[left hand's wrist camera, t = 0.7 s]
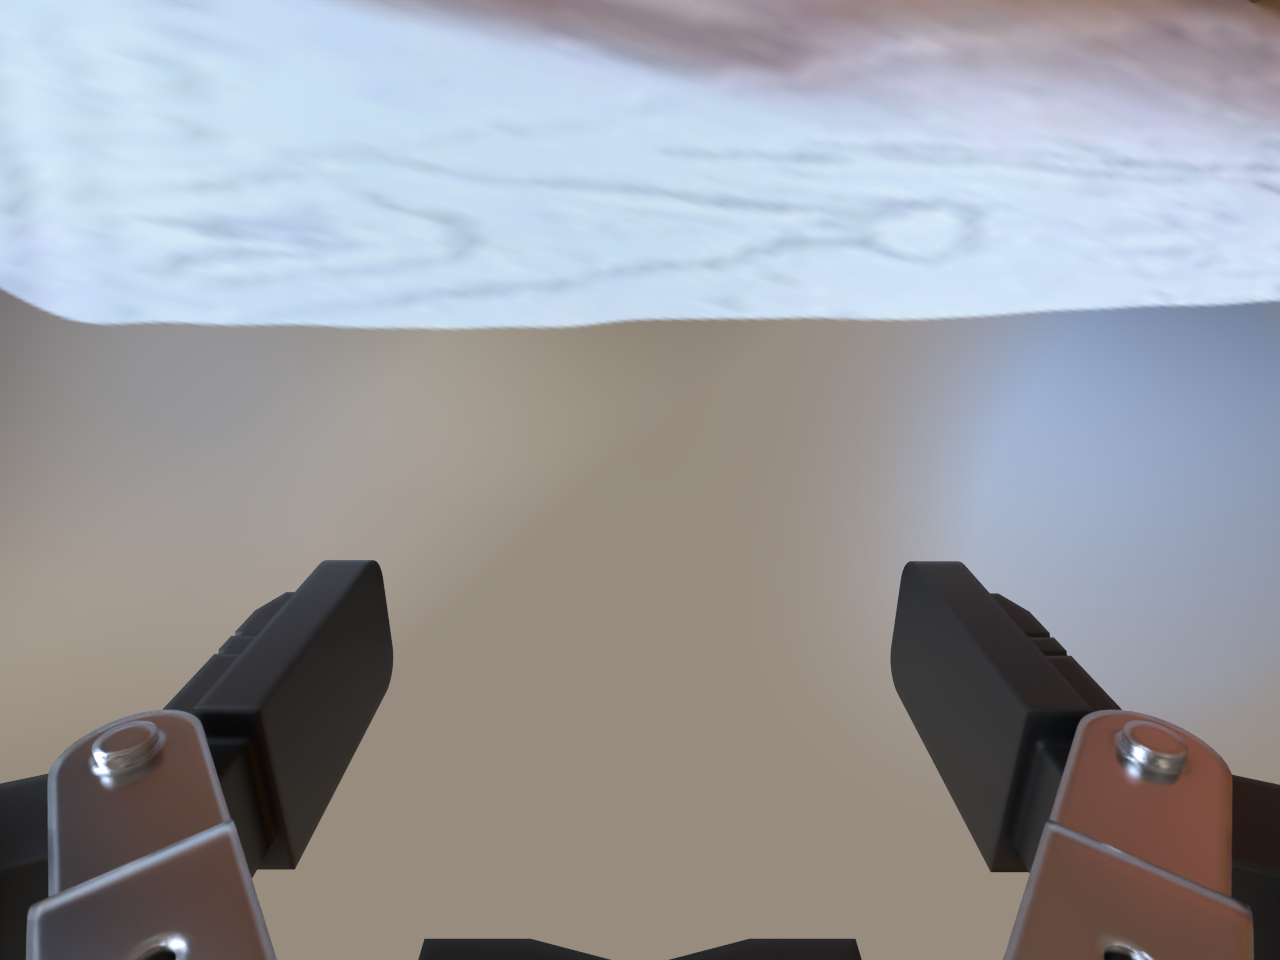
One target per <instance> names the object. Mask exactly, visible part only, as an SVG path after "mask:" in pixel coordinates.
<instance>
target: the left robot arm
mask: <svg viewBox="0 0 1280 960" xmlns="http://www.w3.org/2000/svg"><path fill="white" fill-rule="evenodd" d="M1066 652H1067V651H1066V650H1065V649H1064V648H1063V647H1062V646H1061V645H1060V644H1059V643H1058V642H1057V641H1056V639H1055V638H1050V633H1049V632H1048V631H1047V630H1046V629H1045V628H1044V627H1043V626H1042V625H1041V624H1040V622H1039V621H1038V620H1037V619H1036V618H1035V617H1034V616H1033V615H1032V614H1031V613H1030V612H1029V611H1027V610H1025V609H1024V608H1022V607H1020V606H1019V605H1017V604H1015V603H1013V602H1012V601H1010V600H1008V599H1007V598H1005V597H1003V596H1001V595H1000V594H990V593H989V592H988V591H987V590H986V589H985V588H984V586H983V585H982V584H981V583H980V582H979V581H978V580H977V579H976V577H975V576H974V575H973V574H972V573H971V572H970V571H969V570H968V568H967V567H966V566H965V565H964V564H963V563H961V562H957V561H946V562H945V561H941V562H939V561H932V562H931V561H930V562H928V561H924V562H922V561H919V562H918V561H912V562H911V561H910V562H908V563H907V564H906V565H905V567H904V569H903V572H902V577H901V583H900V590H899V597H898V604H897V611H896V618H895V625H894V632H893V639H892V646H891V671H892V677H893V682H894V685H895V688H896V691H897V693H898V695H899V697H900V699H901V701H902V703H903V705H904V706H905V708H906V710H907V712H908V714H909V716H910V718H911V720H912V722H913V724H914V726H915V728H916V729H917V731H918V733H919V735H920V737H921V739H922V741H923V743H924V745H925V747H926V749H927V751H928V752H929V754H930V756H931V758H932V760H933V762H934V764H935V766H936V768H937V770H938V772H939V774H940V775H941V777H942V779H943V781H944V783H945V785H946V787H947V789H948V791H949V793H950V795H951V797H952V798H953V800H954V802H955V804H956V806H957V808H958V810H959V812H960V814H961V816H962V818H963V819H964V821H965V823H966V825H967V827H968V829H969V831H970V833H971V835H972V837H973V839H974V841H975V842H976V844H977V846H978V848H979V850H980V852H981V854H982V856H983V858H984V860H985V862H986V864H987V865H988V867H989V869H990V871H991V872H1029V873H1030V875H1029V878H1028V881H1027V885H1026V888H1025V891H1024V894H1023V898H1022V901H1021V904H1020V907H1019V910H1018V914H1017V917H1016V920H1015V923H1014V927H1013V930H1012V933H1011V936H1010V940H1009V943H1008V946H1007V949H1006V952H1005V956H1004V959H1003V960H1280V785H1278V784H1273V783H1268V782H1263V781H1259V780H1254V779H1249V778H1244V777H1240V776H1235V775H1232V774H1231V772H1230V769H1229V767H1228V765H1227V764H1226V763H1225V761H1224V760H1223V758H1222V757H1221V756H1220V755H1219V754H1218V753H1217V752H1216V751H1215V750H1214V749H1213V748H1211V747H1210V746H1209V745H1208V744H1206V743H1205V742H1204V741H1202V740H1201V739H1199V738H1198V737H1196V736H1195V735H1193V734H1191V733H1190V732H1188V731H1186V730H1184V729H1183V728H1180V727H1178V726H1176V725H1174V724H1172V723H1170V722H1167V721H1164V720H1162V719H1159V718H1156V717H1153V716H1149V715H1146V714H1142V713H1137V712H1133V711H1125V710H1122V709H1121V708H1120V707H1119V706H1118V705H1117V704H1116V703H1115V702H1114V701H1113V700H1112V699H1111V698H1110V697H1109V696H1108V695H1107V693H1106V692H1105V691H1104V690H1103V689H1102V688H1101V687H1100V686H1099V685H1098V684H1097V683H1096V682H1095V681H1094V680H1093V679H1092V678H1091V676H1090V675H1089V674H1088V673H1087V672H1086V671H1085V670H1084V669H1083V668H1082V667H1081V666H1080V665H1079V664H1078V663H1077V662H1076V661H1075V660H1074V659H1073V657H1072V656H1067V653H1066ZM392 668H393V646H392V640H391V632H390V625H389V618H388V611H387V604H386V596H385V590H384V582H383V576H382V571H381V568H380V566H379V564H378V563H377V562H376V561H374V560H326V561H323V562H321V563H320V564H319V565H318V567H317V568H316V569H315V570H314V571H313V572H312V574H311V575H310V576H309V577H308V578H307V579H306V580H305V581H304V583H303V584H302V585H301V586H300V587H299V588H298V589H297V591H296V592H286V593H284V594H283V595H281V596H279V597H277V598H276V599H274V600H272V601H271V602H269V603H267V604H265V605H264V606H262V607H260V608H259V609H257V610H255V611H254V612H253V614H252V615H251V616H250V617H249V618H248V619H247V620H246V621H245V622H244V623H243V624H242V625H241V626H240V627H239V628H238V630H237V631H236V634H235V636H231V637H230V638H229V639H228V640H227V641H226V642H225V643H224V645H223V646H222V647H221V648H220V649H219V653H218V654H214V655H213V656H212V657H211V658H210V659H209V661H208V662H207V663H206V664H205V665H204V666H203V667H202V668H201V669H200V670H199V671H198V672H197V673H196V674H195V675H194V677H193V678H192V679H191V680H190V681H189V682H188V683H187V684H186V685H185V686H184V687H183V688H182V689H181V690H180V691H179V693H178V694H177V695H176V696H175V697H174V698H173V699H172V700H171V701H170V702H169V703H168V704H167V705H166V707H164V709H163V710H155V711H148V712H143V713H138V714H134V715H131V716H127V717H124V718H121V719H118V720H116V721H113V722H110V723H108V724H106V725H104V726H102V727H100V728H98V729H96V730H94V731H92V732H90V733H89V734H87V735H85V736H84V737H82V738H81V739H79V740H78V741H76V742H75V743H74V744H72V745H71V746H70V747H69V748H67V749H66V750H65V751H64V752H63V753H62V754H61V755H60V756H59V757H58V759H57V760H56V761H55V763H54V764H53V765H52V767H51V769H50V772H49V774H45V775H40V776H35V777H30V778H25V779H21V780H16V781H11V782H6V783H2V784H0V960H277V959H276V956H275V952H274V949H273V946H272V943H271V939H270V936H269V933H268V930H267V926H266V923H265V920H264V917H263V914H262V910H261V907H260V904H259V901H258V897H257V894H256V891H255V888H254V884H253V881H252V877H253V876H254V874H255V872H256V870H257V869H295V868H296V866H297V864H298V862H299V860H300V858H301V856H302V854H303V852H304V850H305V848H306V847H307V845H308V843H309V841H310V839H311V837H312V835H313V833H314V831H315V829H316V827H317V825H318V823H319V821H320V819H321V817H322V816H323V814H324V812H325V810H326V808H327V806H328V804H329V802H330V800H331V798H332V796H333V794H334V792H335V790H336V788H337V786H338V784H339V783H340V781H341V779H342V777H343V775H344V773H345V771H346V769H347V767H348V765H349V763H350V761H351V759H352V757H353V755H354V753H355V751H356V750H357V748H358V746H359V744H360V742H361V740H362V738H363V736H364V734H365V732H366V730H367V728H368V726H369V724H370V722H371V720H372V719H373V717H374V715H375V713H376V711H377V709H378V707H379V705H380V703H381V701H382V699H383V697H384V695H385V693H386V691H387V689H388V686H389V683H390V679H391V675H392ZM419 960H609V959H606V958H602V957H598V956H594V955H590V954H586V953H583V952H579V951H575V950H571V949H567V948H563V947H560V946H556V945H552V944H548V943H544V942H541V941H537V940H533V939H424V943H423V946H422V949H421V953H420V956H419ZM671 960H861V956H860V953H859V949H858V946H857V943H856V939H747V940H743V941H739V942H736V943H732V944H728V945H724V946H720V947H716V948H713V949H709V950H705V951H701V952H697V953H694V954H690V955H686V956H682V957H678V958H674V959H671Z"/></svg>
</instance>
